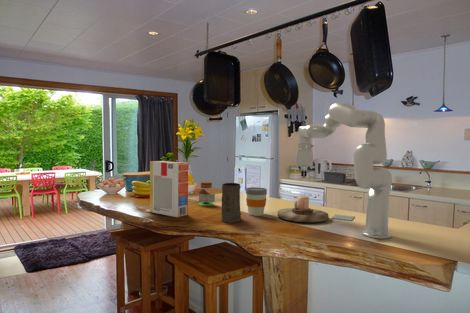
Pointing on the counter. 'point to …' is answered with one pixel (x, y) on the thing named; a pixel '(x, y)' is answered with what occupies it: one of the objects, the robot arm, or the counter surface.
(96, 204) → the counter surface
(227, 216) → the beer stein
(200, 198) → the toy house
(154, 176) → the pasta box
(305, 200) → the pink mug
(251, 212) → the reusable coffee cup
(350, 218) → the mat
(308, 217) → the lazy susan
